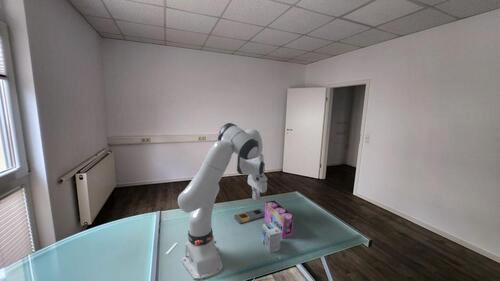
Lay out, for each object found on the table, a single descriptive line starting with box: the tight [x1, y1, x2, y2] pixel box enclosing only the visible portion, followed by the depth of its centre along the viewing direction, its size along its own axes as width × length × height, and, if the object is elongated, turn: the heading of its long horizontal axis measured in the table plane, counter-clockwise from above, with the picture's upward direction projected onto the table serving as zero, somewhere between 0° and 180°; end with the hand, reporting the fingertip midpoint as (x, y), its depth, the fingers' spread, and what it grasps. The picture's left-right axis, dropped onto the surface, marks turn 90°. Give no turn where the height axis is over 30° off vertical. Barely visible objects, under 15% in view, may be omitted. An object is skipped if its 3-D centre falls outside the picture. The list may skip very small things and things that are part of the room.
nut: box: [251, 189, 261, 201], centre depth 140 cm, size 4×4×6 cm
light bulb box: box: [261, 223, 282, 254], centre depth 109 cm, size 11×7×11 cm, turn 21°
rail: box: [233, 208, 265, 225], centre depth 139 cm, size 8×22×3 cm, turn 120°
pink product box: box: [264, 200, 294, 239], centre depth 127 cm, size 24×8×14 cm, turn 25°
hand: (256, 194), depth 140 cm, fingers closed on nut, 4 cm apart
